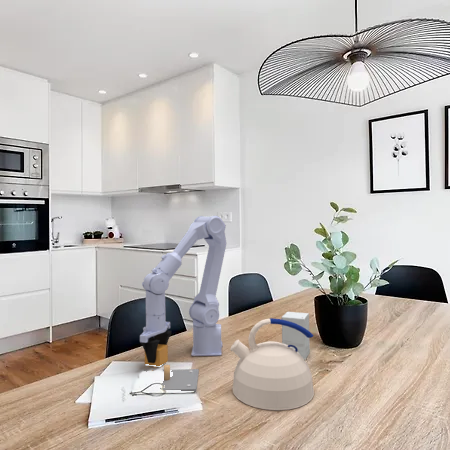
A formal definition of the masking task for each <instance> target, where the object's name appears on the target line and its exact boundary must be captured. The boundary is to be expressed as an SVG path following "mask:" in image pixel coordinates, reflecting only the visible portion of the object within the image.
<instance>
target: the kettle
mask: <svg viewBox="0 0 450 450" xmlns="http://www.w3.org/2000/svg"><path fill="white" fill-rule="evenodd" d="M270 324H271V325H281V326H282V325H284V326H288V327H291V328H293V329H296V330H298V331H300V332H301V333H303V334H304V335H305V336H306V337H307V338H309V339H310V338H311V339H312V338H313V337H314V334H313V333H312V332H311V331H310V330H309V331H308V330H307V329H305V328H304V327H302V326H300V325H298V324H296V323H293V322H290V321H286V320H282V319H281V318H275V317H274V318H273V317H272V318H271V317H270V318H269V317H268V318H266V319H262V320H260V321H258V322H257V323H256V324H254V326H253V327H252V328H251V329H250V332H249V335H248V346H247V345H245V344H244V343H243V342H241V341H240V339H236V340H235V341H234V342H233V344H232V345H231V347H230V351H231V352H232V353H234V355H236V356H237V357H238V358H239V359H238V361H237V363H236V366H235V369H234V371H233V381H232V388H231V389H232V393H233V395H234V396H235V397H236V398H237V400H239V401H240V402H242V403H243V404H245V405H247V406H250V407H253V408H256V409H260V410H261V409H262V410H267V411H286V410H287V411H290V410H293V409H297V408H301V407H302V406H305V405H307V404H308V403H309V402H310V401H311V400H313V398H314V395H315V391H314V384H313V383H314V382H313V375H312V372H311V369H310V366H309V364H308V362H307V361H306V359H305V360H304V359H303V358H302V356H301V355H300V354H299V353H298V352H297V351H298V349H297V348H296V347H295V346H294V345H286V344H283V343H282V342H278V341H273V340H272V341H264V342H260V343H256V334H257V333H258V331H259V330H260V329H261V328H262V327H264V326H266V325H270ZM292 347H294V348H295V350H294V349H293V348H292Z"/></svg>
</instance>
